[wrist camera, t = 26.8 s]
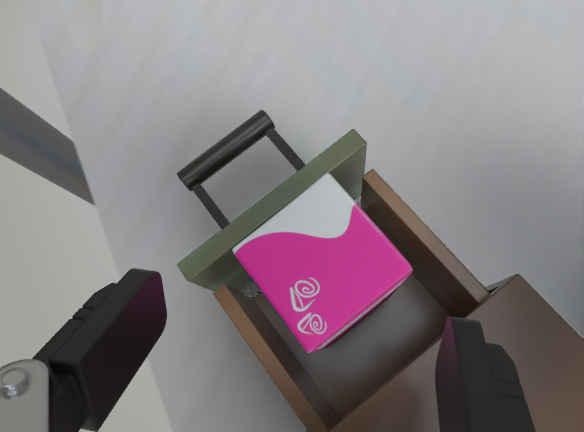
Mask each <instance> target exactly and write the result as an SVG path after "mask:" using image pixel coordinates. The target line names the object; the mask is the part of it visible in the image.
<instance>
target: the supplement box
mask: <svg viewBox="0 0 584 432" xmlns="http://www.w3.org/2000/svg"><path fill="white" fill-rule="evenodd" d="M232 251H233V253H234V254H235V256H236V257H237V259H238V260H239V262H240V263H241V264H242V266H243V267H244V268H245V270H246V271H247V273H248V274H249V275H250V277H251V278H252V279H253V281H254V282H255V283H256V285H257V286H258V287H259V289H260V290H261V291H262V293H263V294H264V295H265V297H266V298H267V299H268V301H269V302H270V303H271V305H272V306H273V308H274V309H275V310H276V312H277V313H278V314H279V316H280V317H281V318H282V320H283V321H284V322H285V324H286V325H287V326H288V328H289V329H290V330H291V332H292V333H293V334H294V336H295V337H296V338H297V340H298V341H299V342H300V344H301V345H302V346H303V348H304V349H305V350H306V352H307V353H312V352H315V351H318V350H321V349H323V348H327V347H329V346H330V345H331V344H333V343H334V342H335V341H337V340H338V339H339V338H340V337H342V336H343V335H344V334H345V333H347V332H348V331H349V330H350V329H352V328H353V327H354V326H355V325H357V324H358V323H359V322H360V321H362V320H363V319H364V318H365V317H367V316H368V315H369V314H370V313H371V312H373V311H374V310H375V309H376V308H378V307H379V306H380V305H381V304H382V303H384V302H385V301H386V300H387V299H388V298H390V297H391V296H392V294H393V293H394V292H395V291H396V290H397V289H398V287H399V286H400V285H401V284H402V283H403V282H404V281H405V279H406V278H407V277H408V276H409V275H410V274H411V273H412V271H413V270H412V267H411V265H410V263H409V262H408V261H407V260H406V259H405V258H404V256H403V255H402V254H401V253H400V252H399V251H398V249H397V248H396V247H395V246H394V245H393V244H392V243H391V241H390V240H389V239H388V238H387V237H386V236H385V235H384V233H383V232H382V231H381V230H380V229H379V228H378V227H377V225H376V224H375V223H374V222H373V221H372V220H371V219H370V218H369V217H368V216H367V214H366V213H365V212H364V211H363V210H362V209H361V208H360V207H359V206H358V205H357V203H356V202H355V201H354V200H353V199H352V198H351V197H350V196H349V194H348V193H347V192H346V191H345V190H344V189H343V188H342V187H341V186H340V184H339V183H338V182H337V181H336V180H335V179H334V178H333V177H332V176H331V175H330V174H329V173H327V174H325V175H324V176H323V177H321V178H320V179H319V180H317V181H316V182H315V183H314V184H313V185H311V186H310V187H309V188H308V189H306V190H305V191H304V192H303V193H302V194H300V195H299V196H298V197H297V198H295V199H294V200H293V201H292V202H290V203H289V204H288V205H287V206H285V207H284V208H283V209H282V210H281V211H279V212H278V213H277V214H276V215H274V216H273V217H272V218H271V219H269V220H268V221H267V222H266V223H265V224H263V225H262V226H261V227H260V228H258V229H257V230H256V231H254V232H253V233H252V234H251V235H249V236H248V237H247V238H245V239H244V240H243V241H242V242H240V243H239V244H238V245H236V246H235V247H234V248H233V249H232Z"/></svg>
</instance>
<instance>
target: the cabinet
mask: <svg viewBox="0 0 584 432" xmlns="http://www.w3.org/2000/svg"><path fill="white" fill-rule="evenodd" d="M485 289H486V290H487V291H488V292H489V293H490V295H488V296H487V297H486V298H485V299H484V300H482V301H481V302H480V303H479V304H478V305H476V306H475V307H474V308H473V309H472V310H470V311H469V312H468V313H467V314H466V315H464V316H463V317H462V318H464V319H470V320H477V321H480V323H481V326H482V330H483V334H484V338H485V342H486V343H491V344H497V345H501V346H502V348H503V349H504V350H505V351H506V353H507V354H508V355H509V356H510V358H511V359H512V360H513V361H514V363H515V366H516V369H517V373H518V376H519V379H520V385H522V389H523V392H524V395H525V400H526V402H527V405H528V408H529V411H530V415H531V418H532V421H533V424H534V427H535V431H536V432H584V340H583V339H582V338H581V337H580V336H579V335H578V334H577V333H576V332H575V331H574V330H573V329H572V328H571V327H570V326H569V325H568V324H567V322H566V321H565V320H564V319H563V318H562V317H561V316H560V315H559V314H558V313H557V312H556V311H555V310H554V309H553V308H552V307H551V306H550V305H549V304H548V303H547V302H546V301H545V300H544V299H543V298H542V297H541V296H540V295H539V294H538V293H537V292H536V291H535V290H534V289H533V288H532V287H531V286H530V285H529V284H528V283H527V282H526V281H525V280H524V279H523V278H522V277H521V276H520V275H519V274H515V275H513V276H511V277H508V278H506V279H504V280H502V281H499V282H497V283H495V284H492V285H490V286H488V287H486V288H485ZM442 336H443V334H442V335H440V336H439V337H438V338H437V339H436V340H434V341H433V342H432V343H431V344H430V345H428V346H427V347H426V348H425V349H424V350H422V351H421V352H420V353H419V354H418V355H416V356H415V357H414V358H413V359H412V360H410V361H409V362H408V363H407V364H406V365H404V366H403V367H402V368H401V369H400V370H398V371H397V372H396V373H395V374H394V375H392V376H391V377H390V378H389V379H388V380H386V381H385V382H384V383H383V384H382V385H380V386H379V387H378V388H377V389H376V390H374V391H373V392H372V393H371V394H370V395H368V396H367V397H366V398H365V399H364V400H362V401H361V402H360V403H359V404H358V405H356V406H355V407H354V408H353V409H352V410H350V411H349V412H348V413H347V414H346V415H344V416H343V417H342V418H341V419H340V420H338V421H337V422H336V423H335V424H334V425H332V426H331V427H330V428H329V429H328V430H326V431H325V432H440V428H439V417H438V407H437V397H436V387H435V367H436V360H437V356H438V352H439V348H440V344H441V340H442ZM307 432H309V431H308V430H307Z"/></svg>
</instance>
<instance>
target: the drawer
mask: <svg viewBox="0 0 584 432" xmlns="http://www.w3.org/2000/svg"><path fill="white" fill-rule="evenodd" d="M274 128H275V126H274V124H273V122H272V120H271V119H270V117H269V116H268V115H267V114H266V112H265V111H263V110H260V111H259V112H258V113H256V114H255V115H254V116H252V117H251V118H250V119H248V120H247V121H246V122H244V123H243V124H242V125H240V126H239V127H238V128H236V129H235V130H233V131H232V132H231V133H229V134H228V135H227V136H225V137H224V138H223V139H221V140H220V141H219V142H217V143H216V144H215V145H213V146H212V147H211V148H209V149H208V150H207V151H205V152H204V153H203V154H201V155H200V156H199V157H197V158H196V159H195V160H193V161H192V162H191V163H189V164H188V165H187V166H185V167H184V168H183V169H181V170H180V171H179V172H177V176H178V177H179V178H180V180H181V181H182V182H183V184H184V185H185V186H186V187H187V188H188V189H189V190H190V191H194V192H195V194H196V195H197V196H198V198H199V199H200V200H201V202H202V203H203V205H204V206H205V207H206V209H207V210H208V211H209V213H210V214H211V215H212V217H213V218H214V219H215V221H216V222H217V223H218V225H219V226H220V227H221V229H222V230H221V231H220V232H218V233H217V234H216V235H214V236H213V237H212V238H211V239H209V240H208V241H207V242H205V243H204V244H203V245H202V246H200V247H199V248H198V249H196V250H195V251H194V252H192V253H191V254H190V255H189V256H187V257H186V258H185V259H183V260H182V261H181V262H179V263H178V264H177V266H178V268H179V269H180V271H181V272H182V274H183V275H184V277H185V278H186V280H187V281H189V282H191V283H194V284H196V285H199V286H201V287H204V288H206V289H209V290H211V291H214V293H213V294H214V296H215V297H216V299H217V300H218V302H219V303H220V304H221V306H222V307H223V309H224V310H225V312H226V313H227V315H228V316H229V317H230V319H231V320H232V322H233V323H234V325H235V326H236V328H237V329H238V330H239V332H240V333H241V335H242V336H243V338H244V339H245V340H246V342H247V343H248V345H249V346H250V348H251V349H252V351H253V352H254V353H255V355H256V356H257V358H258V359H259V361H260V362H261V364H262V365H263V366H264V368H265V369H266V371H267V372H268V374H269V375H270V377H271V378H272V379H273V381H274V382H275V384H276V385H277V387H278V388H279V390H280V391H281V392H282V394H283V395H284V397H285V398H286V400H287V401H288V403H289V404H290V405H291V407H292V408H293V410H294V411H295V413H296V414H297V416H298V417H299V418H300V420H301V421H302V423H303V424H304V426H305V427H306V429H307V430H308V431H309V432H325V431H326V430H328V429H329V428H330V427H331V426H332V425H334V424H335V423H336V422H337V421H338V420H340V419H341V418H342V417H343V416H344V415H346V414H347V413H348V412H349V411H350V410H352V409H353V408H354V407H355V406H356V405H358V404H359V403H360V402H361V401H362V400H364V399H365V398H366V397H367V396H368V395H370V394H371V393H372V392H373V391H374V390H376V389H377V388H378V387H379V386H380V385H382V384H383V383H384V382H385V381H386V380H388V379H389V378H390V377H391V376H392V375H394V374H395V373H396V372H397V371H398V370H400V369H401V368H402V367H403V366H404V365H406V364H407V363H408V362H409V361H410V360H412V359H413V358H414V357H415V356H416V355H418V354H419V353H420V352H421V351H422V350H424V349H425V348H426V347H427V346H428V345H430V344H431V343H432V342H433V341H434V340H436V339H437V338H438V337H439V336H440V335H442V334H443V332H444V328H445V324H446V321H447V318H448V317H449V316H450V317H457V318H462V317H463V316H464V315H466V314H467V313H468V312H469V311H470V310H472V309H473V308H474V307H475V306H476V305H478V304H479V303H480V302H481V301H482V300H484V299H485V298H486V297H487V296H488V295H490V293H489V292H488V291H487V290H486V289H485V288H484V286H483V285H482V284H481V283H480V282H479V281H478V280H477V279H476V278H475V277H474V276H473V275H472V274H471V273H470V272H469V270H468V269H467V268H466V267H465V266H464V265H463V264H462V263H461V262H460V261H459V260H458V259H457V258H456V257H455V256H454V254H453V253H452V252H451V251H450V250H449V249H448V248H447V247H446V246H445V245H444V244H443V243H442V242H441V241H440V240H439V239H438V237H437V236H436V235H435V234H434V233H433V232H432V231H431V230H430V229H429V228H428V227H427V226H426V225H425V224H424V223H423V221H422V220H421V219H420V218H419V217H418V216H417V215H416V214H415V213H414V212H413V211H412V210H411V209H410V208H409V207H408V205H407V204H406V203H405V202H404V201H403V200H402V199H401V198H400V197H399V196H398V195H397V194H396V193H395V192H394V191H393V189H392V188H391V187H390V186H389V185H388V184H387V183H386V182H385V181H384V180H383V179H382V178H381V177H380V176H379V175H378V173H377V172H376V171H375V170H373V169H372V170H370V171H369V172H368V173H367V174H365V175H364V172H365V159H366V146H367V143H366V141H365V140H364V139H363V138H362V137H361V136H360V135H359V134H358V133H357V132H356V131H355V130H354V129H352V130H351V131H350V132H348V133H347V134H346V135H344V136H343V137H342V138H341V139H339V140H338V141H337V142H335V143H334V144H333V145H331V146H330V147H329V148H328V149H326V150H325V151H324V152H322V153H321V154H320V155H318V156H317V157H316V158H315V159H313V160H312V161H311V162H309V163H308V164H307V165H305V164H304V162H303V161H302V160H301V159H300V158H299V157H298V156H297V154H296V153H295V152H294V151H293V150H292V149H291V148H290V146H289V145H288V144H287V143H286V142H285V141H284V140H283V138H282V137H281V136H280V135H279V134H278V133H277V132H276V130H275V129H274ZM265 135H266V136H267V137H268V138H269V139H270V140H271V142H272V143H273V144H274V145H275V146H276V147H277V149H278V150H279V151H280V152H281V153H282V154H283V156H284V157H285V158H286V159H287V160H288V161H289V163H290V164H291V165H292V166H293V167H294V168H295V169H296V171H297V172H296V173H295V174H294V175H292V176H291V177H290V178H289V179H287V180H286V181H285V182H283V183H282V184H281V185H279V186H278V187H277V188H276V189H274V190H273V191H272V192H270V193H269V194H268V195H266V196H265V197H264V198H263V199H261V200H260V201H259V202H257V203H256V204H255V205H253V206H252V207H251V208H250V209H248V210H247V211H246V212H244V213H243V214H242V215H240V216H239V217H238V218H237V219H235V220H234V221H233V222H231V223H229V221H228V220H227V219H226V217H225V216H224V215H223V213H222V212H221V211H220V209H219V208H218V207H217V205H216V204H215V203H214V201H213V200H212V199H211V197H210V196H209V195H208V193H207V192H206V191H205V189H204V188H203V187H202V185H201V184H202V183H203V182H204V181H206V180H207V179H208V178H210V177H211V176H212V175H214V174H215V173H216V172H218V171H219V170H220V169H222V168H223V167H224V166H226V165H227V164H228V163H230V162H231V161H232V160H234V159H235V158H236V157H238V156H239V155H240V154H241V153H243V152H244V151H245V150H247V149H248V148H249V147H251V146H252V145H253V144H255V143H256V142H257V141H259V140H260V139H261V138H263V137H264V136H265ZM327 173H329V174H330V175H331V176H332V177H333V178H334V179H335V180H336V181H337V182H338V183H339V184H340V186H341V187H342V188H343V189H344V190H345V191H346V192H347V193H348V194H349V196H350V197H351V198H352V199H353V200H354V199H356V198H357V197H358V196H359V195H361V207H360V208H361V209H362V210H363V211H364V212H365V213H366V214H367V216H368V217H369V218H370V219H371V220H372V221H373V222H374V223H375V224H376V225H377V227H378V228H379V229H380V230H381V231H382V232H383V233H384V235H385V236H386V237H387V238H388V239H389V240H390V241H391V243H392V244H393V245H394V246H395V247H396V248H397V249H398V251H399V252H400V253H401V254H402V255H403V256H404V258H405V259H406V260H407V261H408V262H409V263H410V265H411V267H412V270H413V271H412V273H411V274H410V275H409V276H408V277H407V278H406V279H405V281H404V282H403V283H402V284H401V285H400V286H399V287H398V289H397V290H396V291H395V292H394V293H393V294H392V296H391V297H390V298H388V299H387V300H386V301H385V302H384V303H382V304H381V305H380V306H379V307H378V308H376V309H375V310H374V311H373V312H371V313H370V314H369V315H368V316H367V317H365V318H364V319H363V320H362V321H360V322H359V323H358V324H357V325H355V326H354V327H353V328H352V329H350V330H349V331H348V332H347V333H345V334H344V335H343V336H342V337H340V338H339V339H338V340H337V341H335V342H334V343H333V344H331V345H330V346H329V347H327V348H323V349H321V350H318V351H315V352H312V353H307V352H306V350H305V349H304V348H303V346H302V345H301V344H300V342H299V341H298V340H297V338H296V337H295V336H294V334H293V333H292V332H291V330H290V329H289V328H288V326H287V325H286V324H285V322H284V321H283V320H282V318H281V317H280V316H279V314H278V313H277V312H276V310H275V309H274V308H273V306H272V305H271V303H270V302H269V301H268V299H267V298H266V297H265V295H264V294H263V293H262V292H260V293H259V294H258V295H257V296H255V297H254V298H251V297H249V296H247V295H245V294H243V293H241V292H239V290H240V289H241V288H242V287H244V286H245V285H246V284H248V283H249V282H250V281H251V280H253V279H252V278H251V277H250V275H249V274H248V273H247V271H246V270H245V268H244V267H243V266H242V264H241V263H240V262H239V260H238V259H237V257H236V256H235V254H234V253H233V251H232V249H233V248H234V247H235V246H236V245H238V244H239V243H240V242H242V241H243V240H244V239H245V238H247V237H248V236H249V235H251V234H252V233H253V232H254V231H256V230H257V229H258V228H260V227H261V226H262V225H263V224H265V223H266V222H267V221H268V220H269V219H271V218H272V217H273V216H274V215H276V214H277V213H278V212H279V211H281V210H282V209H283V208H284V207H285V206H287V205H288V204H289V203H290V202H292V201H293V200H294V199H295V198H297V197H298V196H299V195H300V194H302V193H303V192H304V191H305V190H306V189H308V188H309V187H310V186H311V185H313V184H314V183H315V182H316V181H317V180H319V179H320V178H321V177H323V176H324V175H325V174H327Z"/></svg>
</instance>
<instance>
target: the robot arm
mask: <svg viewBox="0 0 584 432" xmlns="http://www.w3.org/2000/svg"><path fill="white" fill-rule="evenodd" d="M166 320H167V310H166V304H165V297H164V291H163V284H162V278H161V275H160V273H159V272H156V271H149V270H143V269H136V268H133V269H130V270H129V271H128V272H127V273H126V274H125V275H124V276H123V278H122V279H121V280H120V281H119V282H118V283H117V284H116V283H111V284H109V285H108V286H106V287H104V288H102V289H101V290H99V291H97V292H96V293H94V294H93V295H92V296H91V298H90V299H89V300H88V301H87V302H86V303H85V304H84V305H83V308H80V309H79V310H78V311H77V312H76V313H75V314H74V315H73V318H72V319H70V320H68V322H67V323H66V324H65V325H64V326H63V327H62V328H61V329H60V330H59V331H58V332H57V333H56V334H55V335H54V336H53V337H52V338H51V339H50V340H49V342H47V343H46V345H45V346H44V347H43V348H42V349H41V350H40V351H39V352H38V353H37V354H36V355H35V356H34V357H33V358H32V359H25V360H19V361H15V362H12V363H10V364H7V365H5V366H3V367H1V368H0V432H78V431H79V430H80V428H81V429H86V430H90V431H95V432H98V430H99V428H100V427H101V426H102V424H103V423H104V421H105V420H106V418H107V417H108V415H109V413H110V412H111V410H112V409H113V407H114V406H115V404H116V403H117V401H118V400H119V398H120V397H121V395H122V394H123V392H124V391H125V389H126V388H127V386H128V384H129V383H130V381H131V380H132V378H133V377H134V375H135V374H136V372H137V371H138V369H139V368H140V366H141V365H142V363H143V362H144V360H145V359H146V357H147V356H148V354H149V353H150V351H151V350H152V348H153V347H154V345H155V343H156V342H157V340H158V339H159V337H160V336H161V334H162V332H163V330H164V328H165V325H166ZM435 387H436V397H437V407H438V417H439V428H440V432H536V431H535V427H534V424H533V421H532V418H531V415H530V411H529V408H528V405H527V402H526V400H525V395H524V392H523V389H522V385H520V379H519V376H518V373H517V369H516V366H515V363H514V361H513V360H512V359H511V358H510V356H509V355H508V354H507V353H506V351H505V350H504V349H503V348H502V346H501V345H497V344H491V343H486V342H485V338H484V334H483V330H482V326H481V323H480V321H477V320H470V319H464V318H457V317H450V316H449V317H448V318H447V321H446V324H445V328H444V332H443V336H442V340H441V344H440V348H439V352H438V356H437V360H436V367H435Z"/></svg>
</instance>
